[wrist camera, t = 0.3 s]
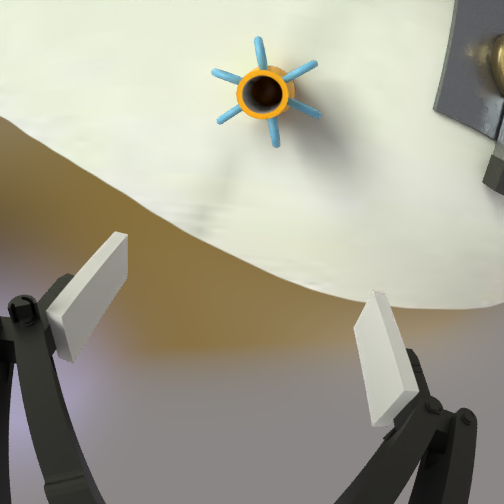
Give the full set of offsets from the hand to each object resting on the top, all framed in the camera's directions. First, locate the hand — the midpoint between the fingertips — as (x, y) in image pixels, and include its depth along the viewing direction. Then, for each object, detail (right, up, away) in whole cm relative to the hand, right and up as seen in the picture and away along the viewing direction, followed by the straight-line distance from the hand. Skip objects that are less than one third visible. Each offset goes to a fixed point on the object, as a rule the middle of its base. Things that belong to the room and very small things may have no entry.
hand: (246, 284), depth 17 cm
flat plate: (+38, +28, +12) cm, 48 cm away
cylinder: (+2, +21, +19) cm, 29 cm away
